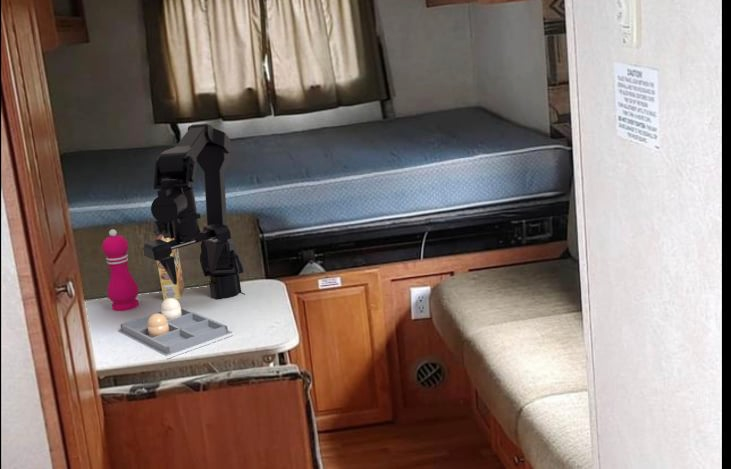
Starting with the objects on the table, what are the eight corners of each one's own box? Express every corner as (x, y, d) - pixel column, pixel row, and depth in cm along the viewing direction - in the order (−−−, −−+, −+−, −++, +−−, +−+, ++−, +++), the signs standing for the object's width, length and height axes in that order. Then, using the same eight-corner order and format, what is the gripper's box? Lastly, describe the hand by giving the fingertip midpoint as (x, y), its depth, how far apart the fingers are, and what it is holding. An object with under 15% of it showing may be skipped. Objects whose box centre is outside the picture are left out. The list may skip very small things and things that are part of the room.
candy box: (180, 302, 231) (170, 241, 227) (163, 304, 231) (153, 243, 227) (185, 290, 240) (176, 231, 236) (168, 292, 240) (159, 233, 235)
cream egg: (176, 315, 219) (173, 293, 218) (185, 319, 216) (182, 297, 215) (159, 320, 217) (155, 299, 215) (168, 325, 214) (165, 303, 212)
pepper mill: (133, 314, 226) (119, 233, 220) (105, 315, 227) (91, 234, 222) (146, 303, 232) (132, 224, 227) (118, 304, 234) (105, 226, 229)
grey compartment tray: (181, 313, 223) (179, 304, 222) (233, 335, 205) (231, 325, 205) (117, 334, 213) (116, 324, 213) (166, 359, 196) (164, 349, 195)
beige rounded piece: (164, 331, 210) (160, 309, 209) (173, 335, 207) (170, 313, 205) (145, 337, 207) (142, 314, 206) (155, 342, 204) (151, 319, 203)
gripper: (203, 194, 216) (213, 260, 220) (126, 214, 205) (139, 282, 210) (227, 201, 207) (237, 269, 212) (149, 222, 197) (161, 293, 201)
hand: (194, 278), depth 209 cm, fingers open, 9 cm apart
